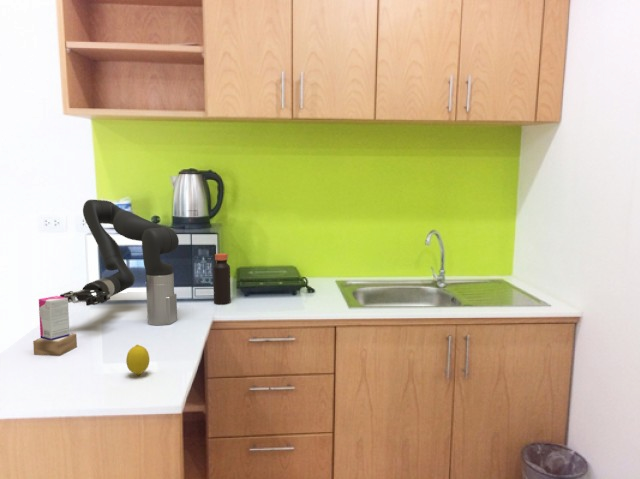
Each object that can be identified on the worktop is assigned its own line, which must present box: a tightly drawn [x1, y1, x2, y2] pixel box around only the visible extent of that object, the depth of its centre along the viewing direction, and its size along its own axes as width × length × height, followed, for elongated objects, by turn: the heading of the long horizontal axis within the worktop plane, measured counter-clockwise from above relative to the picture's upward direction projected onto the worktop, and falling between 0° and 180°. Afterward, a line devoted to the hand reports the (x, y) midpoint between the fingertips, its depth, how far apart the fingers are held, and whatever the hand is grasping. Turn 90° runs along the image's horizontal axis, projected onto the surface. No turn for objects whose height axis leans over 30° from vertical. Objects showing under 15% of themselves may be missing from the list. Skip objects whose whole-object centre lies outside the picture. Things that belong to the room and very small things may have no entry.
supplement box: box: [38, 295, 71, 341], centre depth 147 cm, size 6×6×12 cm
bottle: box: [212, 252, 232, 305], centre depth 205 cm, size 7×7×20 cm
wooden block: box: [32, 333, 78, 357], centre depth 148 cm, size 8×8×4 cm
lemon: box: [125, 344, 150, 376], centre depth 129 cm, size 6×6×8 cm
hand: (73, 302), depth 157 cm, fingers open, 8 cm apart
